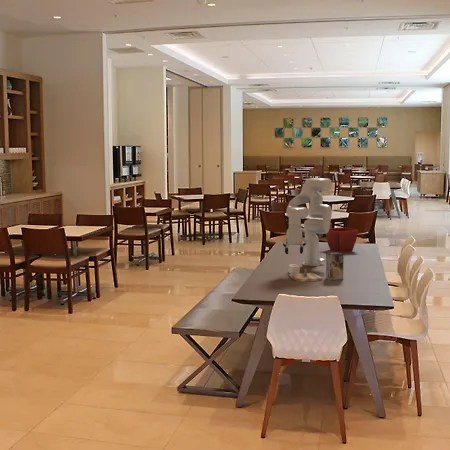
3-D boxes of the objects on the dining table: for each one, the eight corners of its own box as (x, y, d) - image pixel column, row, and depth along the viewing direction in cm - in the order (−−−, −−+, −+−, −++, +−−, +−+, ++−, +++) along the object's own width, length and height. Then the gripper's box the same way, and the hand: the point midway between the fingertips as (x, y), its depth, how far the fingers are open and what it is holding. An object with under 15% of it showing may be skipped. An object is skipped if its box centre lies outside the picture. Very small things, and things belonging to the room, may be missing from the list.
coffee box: (338, 277, 388) (339, 252, 386) (343, 279, 382) (344, 253, 380) (325, 278, 386) (325, 252, 384) (329, 280, 380) (330, 254, 377)
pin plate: (313, 275, 394) (313, 265, 394) (322, 280, 379) (322, 270, 378) (289, 276, 391) (289, 266, 390) (297, 281, 375) (297, 272, 375)
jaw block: (295, 271, 404) (296, 264, 403) (299, 274, 397) (299, 266, 396) (288, 272, 403) (288, 264, 402) (292, 274, 396) (292, 266, 395)
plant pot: (323, 249, 487) (324, 228, 485) (343, 247, 495) (344, 227, 493) (337, 253, 470) (338, 231, 468) (358, 251, 478) (358, 230, 476)
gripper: (305, 226, 401) (304, 252, 403) (279, 226, 397) (279, 253, 399) (309, 227, 394) (308, 254, 396) (283, 228, 390) (282, 254, 392)
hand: (293, 253), depth 398 cm, fingers open, 9 cm apart
